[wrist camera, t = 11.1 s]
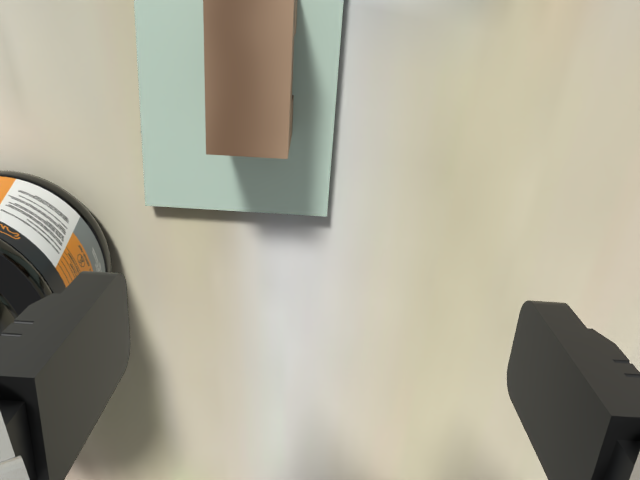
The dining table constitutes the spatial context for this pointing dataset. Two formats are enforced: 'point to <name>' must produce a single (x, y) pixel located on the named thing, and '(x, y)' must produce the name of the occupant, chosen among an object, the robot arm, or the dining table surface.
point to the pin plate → (189, 116)
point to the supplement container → (43, 242)
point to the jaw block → (249, 76)
